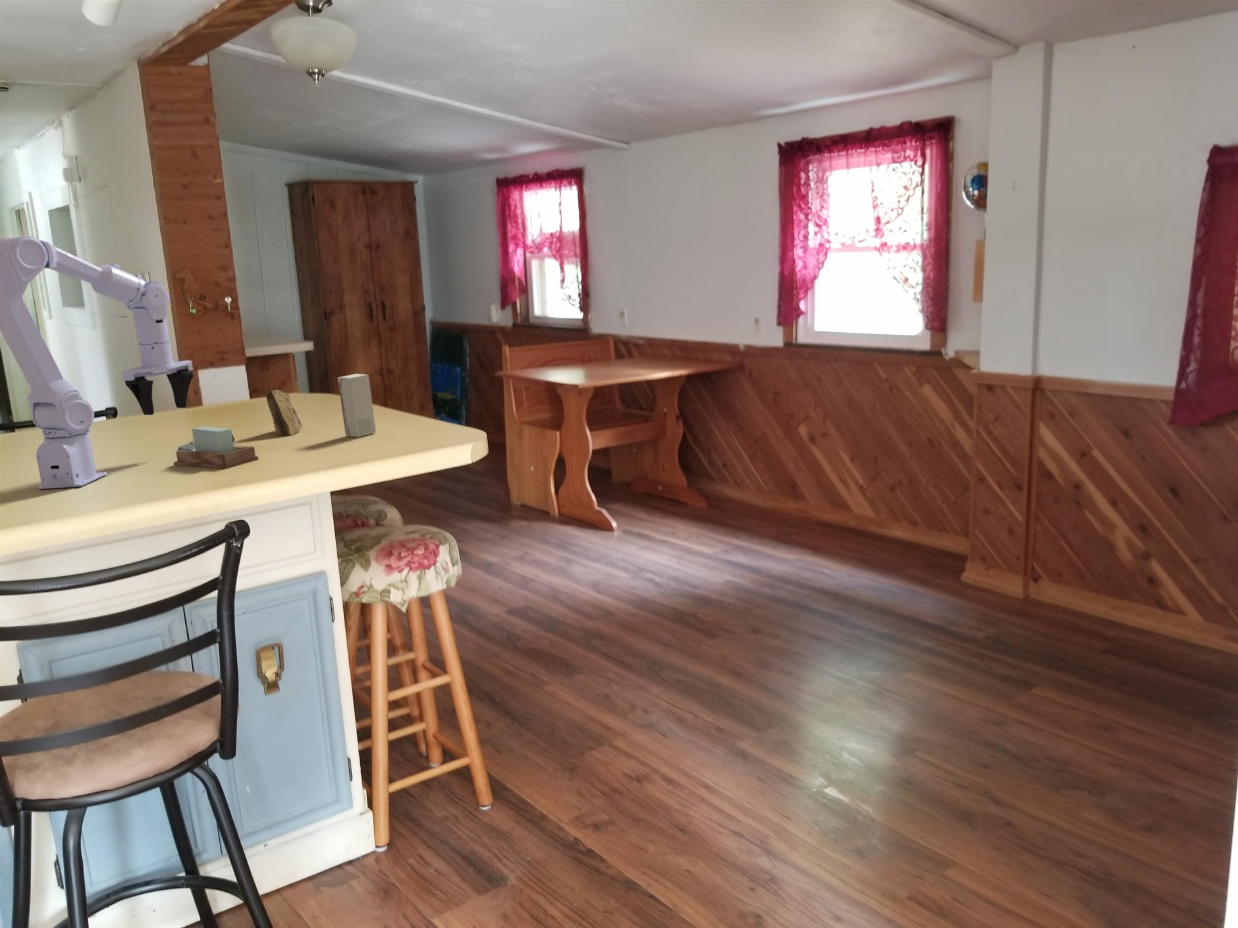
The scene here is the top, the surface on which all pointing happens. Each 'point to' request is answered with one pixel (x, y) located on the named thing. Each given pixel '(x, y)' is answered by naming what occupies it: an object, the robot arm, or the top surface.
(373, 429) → the box
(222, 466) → the floor track
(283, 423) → the rock
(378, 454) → the top surface
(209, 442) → the pale teal block
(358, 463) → the top surface
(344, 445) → the top surface
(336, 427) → the top surface
